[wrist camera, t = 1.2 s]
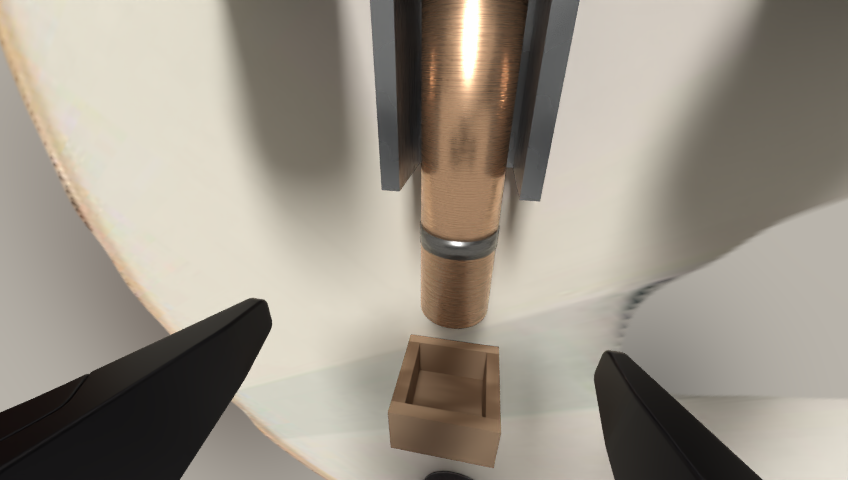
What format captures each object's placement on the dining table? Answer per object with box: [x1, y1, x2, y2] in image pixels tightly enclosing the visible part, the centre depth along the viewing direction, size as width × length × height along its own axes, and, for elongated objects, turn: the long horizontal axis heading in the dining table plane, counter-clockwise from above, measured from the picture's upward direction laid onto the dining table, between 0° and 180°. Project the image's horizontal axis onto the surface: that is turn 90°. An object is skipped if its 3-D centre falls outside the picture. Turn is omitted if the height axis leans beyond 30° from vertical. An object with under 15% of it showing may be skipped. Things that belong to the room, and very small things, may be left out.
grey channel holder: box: [370, 0, 579, 201], centre depth 13 cm, size 12×7×7 cm, turn 179°
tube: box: [420, 0, 529, 329], centre depth 15 cm, size 19×4×4 cm, turn 179°
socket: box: [388, 335, 501, 468], centre depth 24 cm, size 7×4×7 cm, turn 89°
